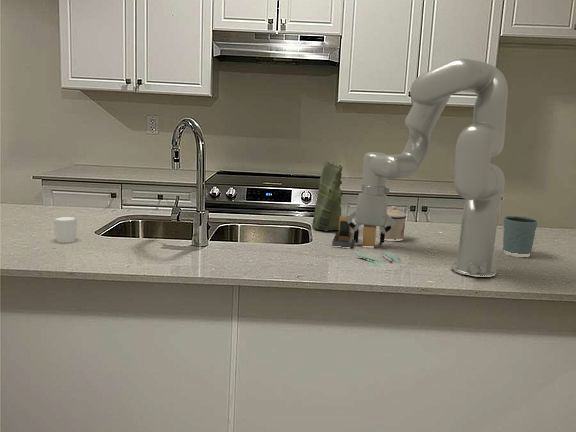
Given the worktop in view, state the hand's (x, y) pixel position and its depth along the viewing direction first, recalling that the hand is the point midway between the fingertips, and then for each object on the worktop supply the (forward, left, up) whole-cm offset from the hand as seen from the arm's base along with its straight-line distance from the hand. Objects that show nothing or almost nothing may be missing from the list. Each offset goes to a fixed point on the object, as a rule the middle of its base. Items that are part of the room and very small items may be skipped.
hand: (368, 243), depth 186 cm
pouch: (+19, +16, -1) cm, 25 cm away
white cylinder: (-28, +92, -1) cm, 96 cm away
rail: (+1, +8, -1) cm, 9 cm away
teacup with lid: (+15, -7, -1) cm, 17 cm away
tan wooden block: (0, 0, -1) cm, 1 cm away
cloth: (-15, -5, -2) cm, 16 cm away
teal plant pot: (+8, -48, -1) cm, 49 cm away
